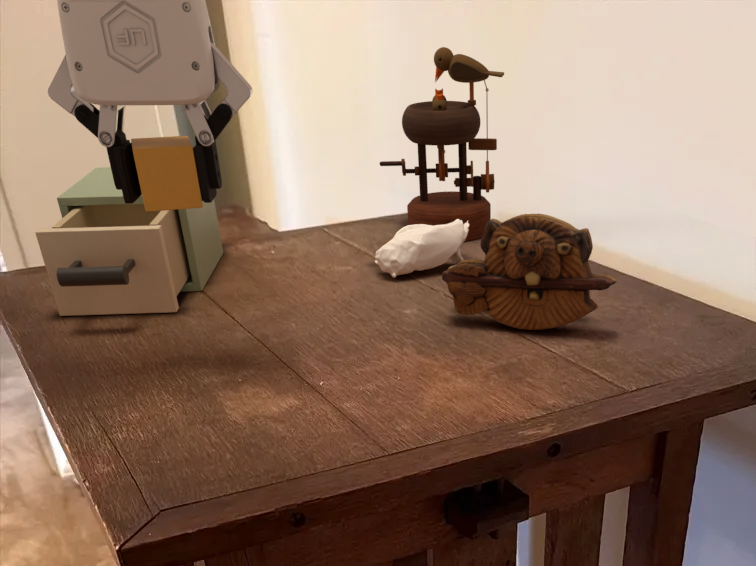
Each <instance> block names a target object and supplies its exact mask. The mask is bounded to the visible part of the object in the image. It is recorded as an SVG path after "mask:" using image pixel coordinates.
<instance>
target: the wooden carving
mask: <svg viewBox="0 0 756 566" xmlns="http://www.w3.org/2000/svg"><path fill="white" fill-rule="evenodd" d="M593 248H594V245H593V240H592V236H591V233H590V229H589V228H587V227H585V228H581V229H578V228H576V227H575V226H573V224H571V223H569V222H567V221H565V220H563V219H560V218H557V217H555V216H551V215H548V214H543V213H523V214H519V215H516V216H513V217H511V218H509V219H506V220H503V221H501V220H498V219H496V218H491V220H490V221H488V222H487V224H486V227H485V231H484V234H483V236H482V238H480V249H481V251H482V252H483V253H484V255H485V256H484V259H479V258H477V259H476V258H467V259H463V261H462V262H460V263H459V262H458V263H456V264H454V265H450V266H449V267H448V268H447V270H444V271H443V272H442V275H441V280H442V281H444V282H445V283H446V285H447V289H448V293H450V294H451V296H452V298H453V305H454V309H455V312H456V313H457V314H459V315H463V316H471V315H472V316H473V315H476V314H480V313H486V314H487V315H488V316H489V317H490V318H492V319H493V320H495V321H496V322H498V323H499V324H502V325H504V326H507V327H511V328H515V329H520V330H530V331H532V330H533V331H534V330H535V331H537V330H539V331H541V330H549V329H555V328H558V327H562V326H563V327H564V326H565V325H568V324H571V323H573V322H576V321H578V320H580V319H581V318H583V317H586V316H587V315H589V314H591V313H593V312H594V311H596V310H597V309H598V308H599V306H598V304H597V302H595V301H594V300H593V299H592V298H591V295H590V291H605V290H607V289H609V288H610V287H611V286H613V285H615V284H617V283H618V281H617V280H616V279H615V278H614V277H612V276H611V275H609V274H597V273H596V274H595V273H593V272H592V269H591V266H590V264H589V260H590V257H591V255H592V252H593Z"/></svg>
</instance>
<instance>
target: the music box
mask: <svg viewBox="0 0 756 566" xmlns="http://www.w3.org/2000/svg"><path fill="white" fill-rule="evenodd" d="M433 63H434V66H435V75H434V76H435V77H434V83H437V81H438V80H439V79H440V78H441V76H442V75H443V73H445V72H447V73H448V75H449V77H450V78H451V79H452V80H453V81H454V82H458V83H464V84H469V85H468V86H469V99H468V100H467V101H460V100H459V101H458V100H447V98H446V96H445V95H444V88H441V89H437V88H435V89H434V96H433V97H432V100H430V101H429V100H428V101H421V102H419V101H418V102H413V103H411V104H409V105H407V106H406V108H405V110H403V114H402V117H401V127H402V130H403V133H404V135H405V137H406V138H407V139H408V140H409V141H410V142H412V143H414V144H417V161H418V163H417V166H416V165H415V166H414V168H406V161H405V158H401V160H394V161H393V160H389V161H385V160H383V161H379V166H380V167H401V173H402V176H404V177H406V176H407V174H414V176H417V177H418V182H419V183H418V184H419V195H416V196H415V197H413V198H412V199H411V200H410V202H408V204H407V206H406V207H407V209H406V211H407V225H414V224H426V225H432V226H434V225H444V224H449V223H452V222H454V221H455V220H456V219H459V220H462V222H463V225H464V223H466V222H467V221H468V223H469V227H468V229H469V231H468V234H467V237H466V239H465V241H464V242H470V241H475V240H479V239H482V236H483V234H484V231H485V227H486V224H487V222H488V221H490V220H491V219H492V218H491V217H492V216H491V215H492V213H491V209H492V208H491V202H490V201H489V200H488V199H487V198H486V197H485V196H483V195H482V191H483V190H484V191H485V193H486V194H487V193H490V191H491V190H492V191H493V190H495V174H494V173H490V161H489V151H496V150H498V139H497V138H488V137H489V127H488V126H489V124H488V123H489V120H488V119H489V118H488V117H489V115H488V113H489V111H488V109H489V108H488V107H489V106H488V104H489V103H488V96H489V95H488V93H489V91H490V90H489V87H488V86H487V83H486V80H487V79H489V77H495V78H496V77H497V78H503V76H504V75H505V72H504V71H495V70H489V69H488V67H486V66H485V65H484V64H483V63H481V62H480V61H478V60H476V59H475V58H473V57H471V56H468V55H466V54H462V53H456V54H454V53H453V52H452V50H451V49H450V48H448V47H445V46H441V47H439V48H438V49H436V51H435V52H434V55H433ZM480 82H484V86H485V92H486V93H485V95H486V137H485V138H484V137H483V138H482V137H480V138H479V137H478V138H476V137H477V135H478V134H479V132H480V128H481V116H480V112H479V110H478V108H477V107H476V106H477V100H476V99H475V88H474V87H475V85H474V84H475V83H480ZM467 144H468V145H467ZM455 145H456V146H457V147H458V149H457V151H458V152H457V153H458V167H449V163H448V162H445V161H446V160H445V154H446V149H445V146H455ZM427 146H436V149H437V157H438V158H437V159H438V160H437V161H438V162H437V163H435V168H434V167H432V168H431V167H430V168H428V167H427V164H428V163H427ZM467 147H468V148H467ZM467 149H468V150H469V151H486V160H485V173H480V175H474V160H470V164H469V165H468V160H467V158H468V157H467V156H468V155H467V152H468V151H467ZM449 173H450V174H451V173H458V177H455V178H454V180H453V185H454V186H455V188H459V189H458V191H451V190H450V191H435V192H429V190H428V189H429V187H428V174H435V178H436V179H437V178H438V181H439V182H446V178H449ZM468 175H470V177H468ZM469 187H470V188H471V187H472V192H469V191H468V188H469Z"/></svg>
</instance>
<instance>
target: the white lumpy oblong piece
mask: <svg viewBox="0 0 756 566" xmlns="http://www.w3.org/2000/svg"><path fill="white" fill-rule="evenodd" d="M468 227H469V223H468V221H467V222H466V223H464V225H463V222H462V220H459V219H456V220H455V221H454V222H452V223H449V224H444V225H434V226H432V225H426V224H414V225H408V224H407V225H405V226H403V227H401V228H400V229H399V230H398V231H397V232H395V234H394V236H393V237H392V238H391V239H390V240H389V241H388V242H387V243H385V244H384V245H382V246H380V248H379V249H377V250H376V251H375V257H374V258H375V260H374V264H376V265H377V266H378V267H379V268H380V270H381V271H382V272H384V273H388V274H389V275H390V276H391V277H392V278H393V279H395V278H397V276H401V275H408V274H411V273H413V272H414V271H424V270H430V269H434V268H437V267H439V266H442V265H443V264H445V263H446V262H448V260H449V259H450V258H451V262H452V263H453V264H458V263H460V262H462V261H463V260H464V257H463V256H462V254H461V246H462V245H463V244H464V243H465V242H466V241H465V239H466V237H467V234H468V231H469V229H468ZM455 262H456V263H455Z"/></svg>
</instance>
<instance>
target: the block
mask: <svg viewBox="0 0 756 566" xmlns="http://www.w3.org/2000/svg"><path fill="white" fill-rule="evenodd" d="M130 143H132V149H133V154H134V159H135V164H136V169H137V173H138V178H139V183H140V188H141V193H142V197H143V202H144V207H145V211H146V212H150V211H164V210H177V209H191V208H202V207H203V204H202V198H201V192H200V187H199V181H198V175H197V169H196V163H195V157H194V152H193V147H194V146H193V144H192V142H191V140H190V137H189V136H188V135H175V136H174V135H173V136H155V137H138V138H136V137H135V138H131V139H130Z"/></svg>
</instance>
